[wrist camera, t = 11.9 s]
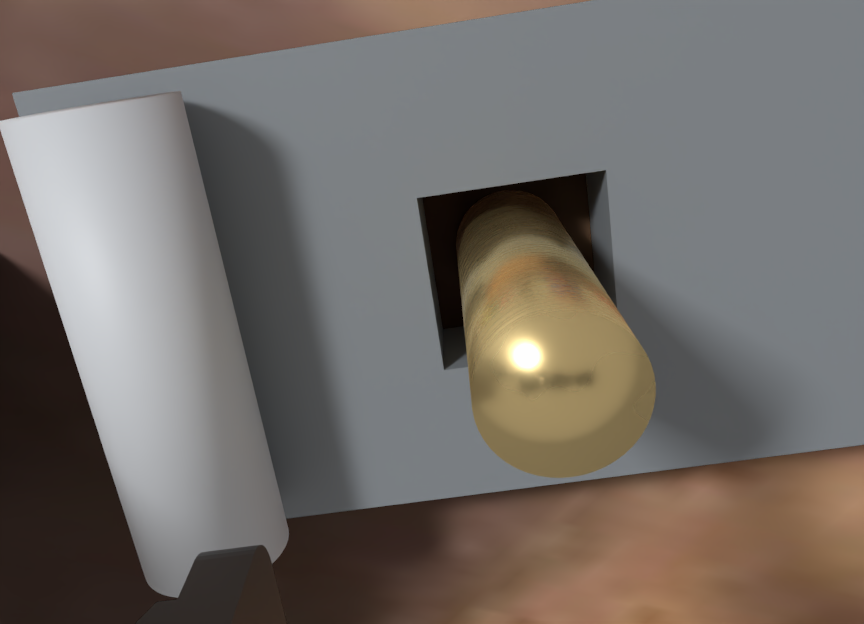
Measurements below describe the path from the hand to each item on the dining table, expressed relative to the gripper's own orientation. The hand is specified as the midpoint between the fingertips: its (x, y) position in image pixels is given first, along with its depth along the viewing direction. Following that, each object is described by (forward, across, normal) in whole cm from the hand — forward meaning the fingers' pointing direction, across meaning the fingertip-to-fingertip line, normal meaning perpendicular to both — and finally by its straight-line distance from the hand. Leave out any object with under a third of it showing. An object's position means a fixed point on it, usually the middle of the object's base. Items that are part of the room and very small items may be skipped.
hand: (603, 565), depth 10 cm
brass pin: (+14, 0, 0) cm, 14 cm away
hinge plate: (+14, 0, 0) cm, 14 cm away
